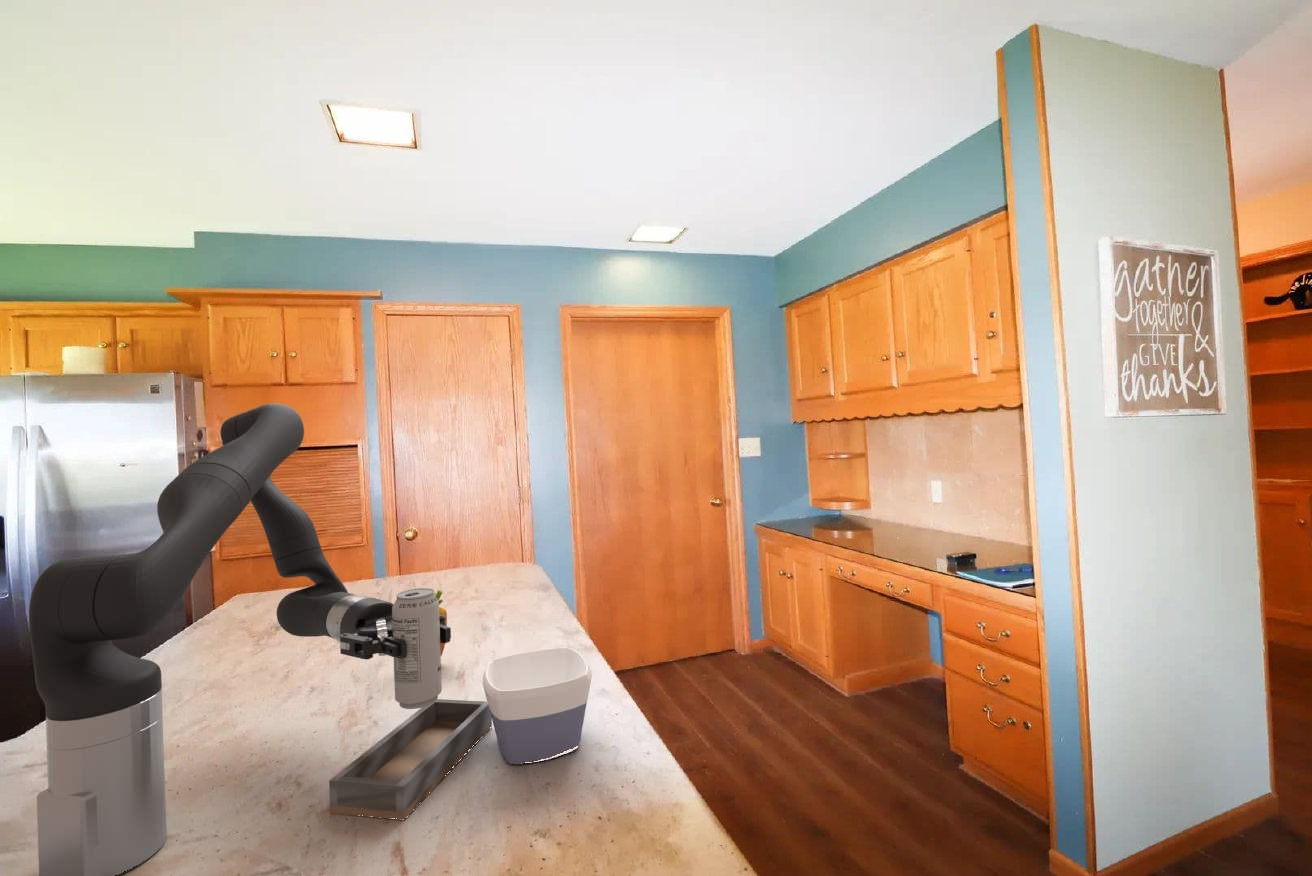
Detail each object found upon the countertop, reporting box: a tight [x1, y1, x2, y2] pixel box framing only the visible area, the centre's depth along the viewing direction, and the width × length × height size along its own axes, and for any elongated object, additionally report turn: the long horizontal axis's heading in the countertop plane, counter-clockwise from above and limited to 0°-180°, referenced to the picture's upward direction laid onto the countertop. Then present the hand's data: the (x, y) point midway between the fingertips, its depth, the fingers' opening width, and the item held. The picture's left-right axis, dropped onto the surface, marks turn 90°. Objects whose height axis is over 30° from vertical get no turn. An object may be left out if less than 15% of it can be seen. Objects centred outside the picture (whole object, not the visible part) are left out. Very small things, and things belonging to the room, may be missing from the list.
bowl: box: [482, 647, 593, 765], centre depth 84 cm, size 15×15×11 cm
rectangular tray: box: [328, 698, 493, 819], centre depth 79 cm, size 22×10×4 cm, turn 169°
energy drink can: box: [392, 587, 443, 710], centre depth 79 cm, size 6×6×15 cm
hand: (426, 642), depth 78 cm, fingers closed on energy drink can, 6 cm apart
